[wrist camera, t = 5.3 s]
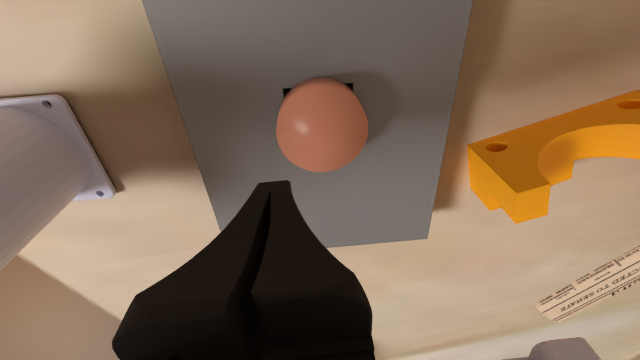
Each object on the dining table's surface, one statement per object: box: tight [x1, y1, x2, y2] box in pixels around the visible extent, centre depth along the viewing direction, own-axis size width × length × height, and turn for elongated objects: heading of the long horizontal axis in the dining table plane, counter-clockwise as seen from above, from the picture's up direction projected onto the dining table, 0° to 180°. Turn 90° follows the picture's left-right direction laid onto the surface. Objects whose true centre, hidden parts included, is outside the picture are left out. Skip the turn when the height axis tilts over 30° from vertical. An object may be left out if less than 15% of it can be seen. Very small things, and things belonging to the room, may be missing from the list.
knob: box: [276, 77, 368, 172], centre depth 18 cm, size 5×5×5 cm
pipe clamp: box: [467, 90, 640, 223], centre depth 21 cm, size 12×4×6 cm, turn 109°
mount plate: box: [142, 0, 473, 248], centre depth 19 cm, size 16×22×3 cm
